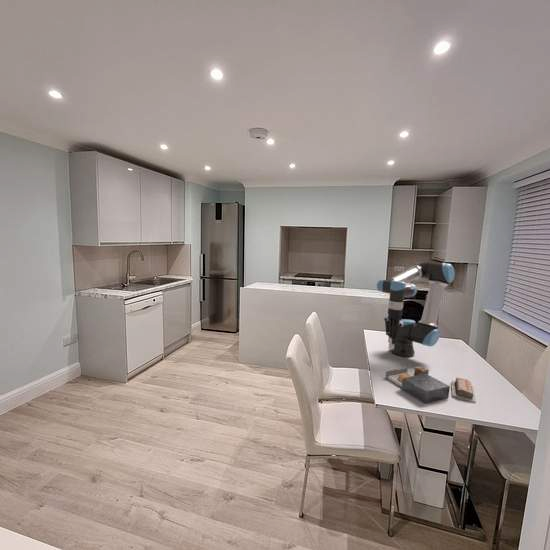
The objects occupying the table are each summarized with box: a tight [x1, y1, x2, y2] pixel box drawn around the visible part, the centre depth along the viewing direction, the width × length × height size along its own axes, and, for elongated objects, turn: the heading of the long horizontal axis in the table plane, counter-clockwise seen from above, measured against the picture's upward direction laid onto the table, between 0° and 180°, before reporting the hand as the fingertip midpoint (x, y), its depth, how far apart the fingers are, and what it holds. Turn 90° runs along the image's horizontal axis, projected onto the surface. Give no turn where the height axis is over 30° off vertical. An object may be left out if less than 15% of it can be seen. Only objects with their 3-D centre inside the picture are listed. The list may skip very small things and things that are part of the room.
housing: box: [401, 374, 451, 404], centre depth 149 cm, size 14×16×6 cm
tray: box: [385, 367, 413, 388], centre depth 160 cm, size 14×15×4 cm
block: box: [413, 365, 429, 376], centre depth 167 cm, size 5×5×5 cm
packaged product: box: [451, 377, 477, 404], centre depth 152 cm, size 18×5×10 cm
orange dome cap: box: [398, 374, 411, 382], centre depth 159 cm, size 8×8×2 cm
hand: (391, 348), depth 169 cm, fingers closed
